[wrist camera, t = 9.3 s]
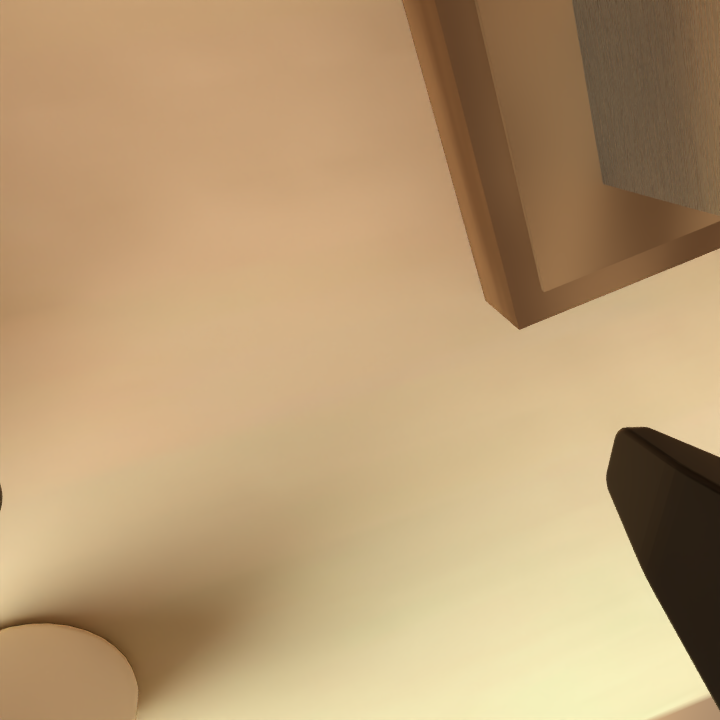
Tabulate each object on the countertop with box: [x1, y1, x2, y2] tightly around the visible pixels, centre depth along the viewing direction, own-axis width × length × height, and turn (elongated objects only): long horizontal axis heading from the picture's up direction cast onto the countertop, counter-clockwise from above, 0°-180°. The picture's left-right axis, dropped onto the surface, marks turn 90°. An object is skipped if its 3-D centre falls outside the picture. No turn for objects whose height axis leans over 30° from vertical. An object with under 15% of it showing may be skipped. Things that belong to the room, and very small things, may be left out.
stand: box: [402, 0, 720, 330], centre depth 19 cm, size 12×12×3 cm
